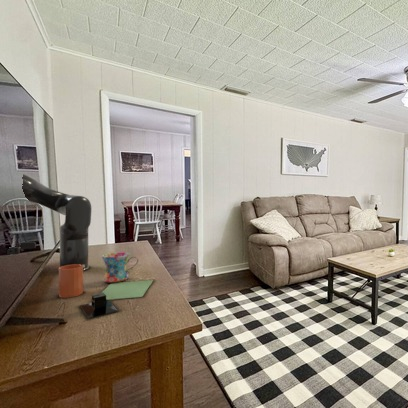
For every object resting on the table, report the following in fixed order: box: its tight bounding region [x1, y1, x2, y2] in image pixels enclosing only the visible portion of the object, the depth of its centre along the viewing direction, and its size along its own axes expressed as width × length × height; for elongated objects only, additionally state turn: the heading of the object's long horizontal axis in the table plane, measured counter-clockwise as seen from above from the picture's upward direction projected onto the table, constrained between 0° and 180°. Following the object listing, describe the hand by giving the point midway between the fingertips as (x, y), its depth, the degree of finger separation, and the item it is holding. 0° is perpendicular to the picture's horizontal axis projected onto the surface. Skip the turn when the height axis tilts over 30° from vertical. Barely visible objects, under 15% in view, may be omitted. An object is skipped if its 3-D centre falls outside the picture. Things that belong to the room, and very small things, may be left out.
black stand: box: [80, 292, 119, 320], centre depth 90 cm, size 12×7×5 cm, turn 51°
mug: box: [101, 252, 140, 284], centre depth 115 cm, size 12×9×11 cm
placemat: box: [100, 279, 154, 301], centre depth 106 cm, size 18×14×1 cm
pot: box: [58, 264, 84, 299], centre depth 99 cm, size 6×6×10 cm
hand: (27, 247), depth 94 cm, fingers open, 8 cm apart
